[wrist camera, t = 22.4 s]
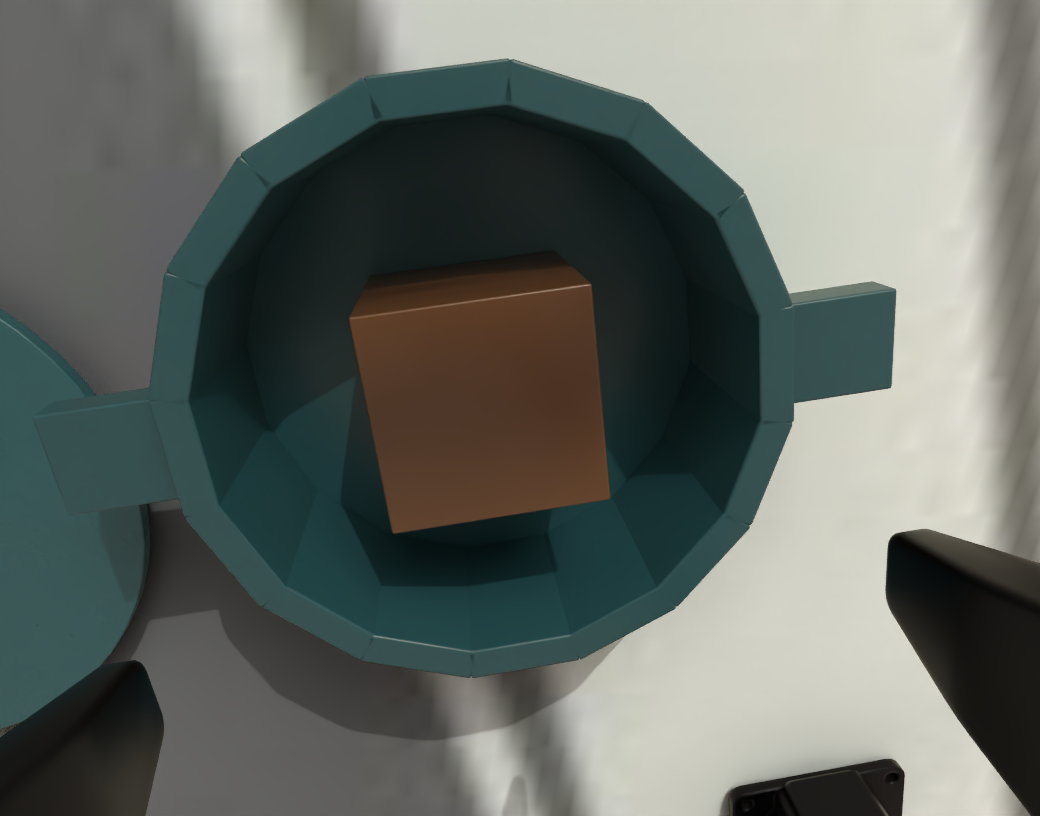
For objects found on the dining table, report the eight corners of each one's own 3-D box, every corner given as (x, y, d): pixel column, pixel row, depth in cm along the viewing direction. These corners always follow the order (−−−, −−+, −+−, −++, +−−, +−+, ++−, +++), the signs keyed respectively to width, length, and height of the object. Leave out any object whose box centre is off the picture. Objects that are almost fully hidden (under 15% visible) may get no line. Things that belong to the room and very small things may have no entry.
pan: (800, 508, 24) (897, 605, 19) (198, 606, 23) (131, 739, 18) (803, 40, 19) (933, 4, 14) (47, 136, 18) (-101, 134, 13)
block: (573, 422, 22) (611, 500, 17) (401, 449, 22) (392, 535, 17) (555, 250, 20) (592, 282, 15) (368, 275, 20) (347, 317, 15)
